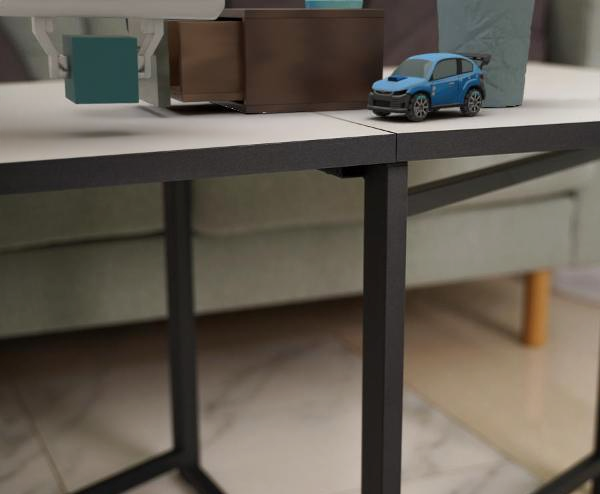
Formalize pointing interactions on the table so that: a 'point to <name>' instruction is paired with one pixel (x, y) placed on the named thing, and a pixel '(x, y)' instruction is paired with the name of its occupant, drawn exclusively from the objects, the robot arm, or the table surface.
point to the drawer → (193, 62)
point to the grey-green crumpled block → (490, 42)
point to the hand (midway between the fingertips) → (100, 78)
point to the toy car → (431, 86)
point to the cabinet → (308, 58)
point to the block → (101, 69)
